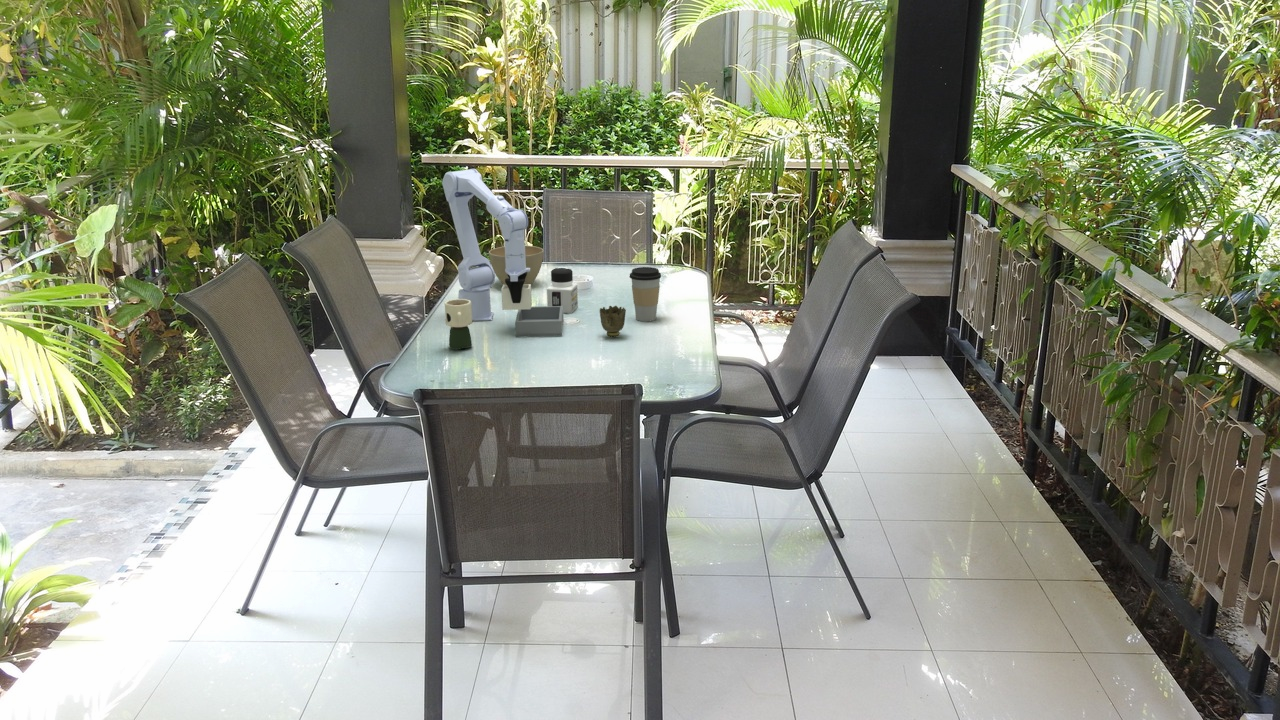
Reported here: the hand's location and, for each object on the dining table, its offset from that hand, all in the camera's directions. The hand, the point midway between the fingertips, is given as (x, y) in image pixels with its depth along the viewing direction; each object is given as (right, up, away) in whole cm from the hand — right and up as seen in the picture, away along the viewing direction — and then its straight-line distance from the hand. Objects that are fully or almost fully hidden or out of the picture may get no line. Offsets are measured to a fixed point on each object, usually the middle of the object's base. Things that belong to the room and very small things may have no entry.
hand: (517, 300), depth 306 cm
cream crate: (0, -2, +1) cm, 2 cm away
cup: (+27, -11, -4) cm, 30 cm away
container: (+11, -2, +23) cm, 26 cm away
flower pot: (-6, +7, +52) cm, 53 cm away
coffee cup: (+37, -5, +13) cm, 39 cm away
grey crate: (+6, -8, +4) cm, 11 cm away
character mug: (-14, -14, -13) cm, 24 cm away
